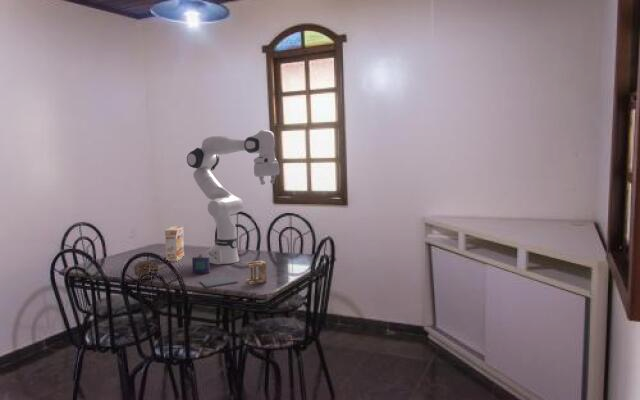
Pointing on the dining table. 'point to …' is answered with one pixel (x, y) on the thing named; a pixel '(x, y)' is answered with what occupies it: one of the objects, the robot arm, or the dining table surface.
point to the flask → (200, 264)
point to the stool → (261, 272)
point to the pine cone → (146, 268)
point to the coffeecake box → (174, 243)
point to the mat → (218, 281)
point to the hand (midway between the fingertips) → (267, 183)
